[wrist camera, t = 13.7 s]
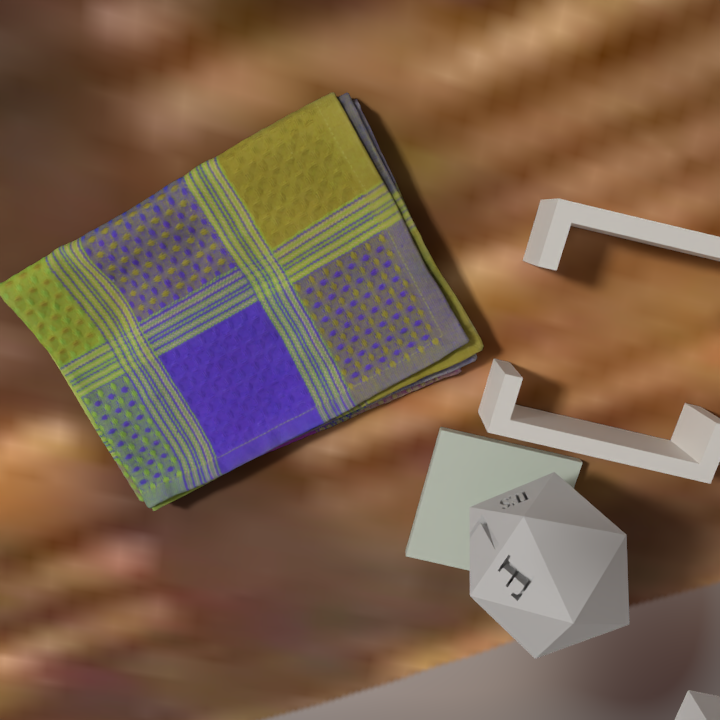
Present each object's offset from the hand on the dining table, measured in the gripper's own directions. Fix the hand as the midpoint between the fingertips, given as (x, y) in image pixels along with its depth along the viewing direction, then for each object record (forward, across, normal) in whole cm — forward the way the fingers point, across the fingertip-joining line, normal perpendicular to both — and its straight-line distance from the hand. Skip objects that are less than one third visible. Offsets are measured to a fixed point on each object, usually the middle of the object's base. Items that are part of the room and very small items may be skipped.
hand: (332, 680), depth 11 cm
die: (+25, +12, -9) cm, 29 cm away
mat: (+25, +10, -9) cm, 29 cm away
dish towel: (+27, -7, 0) cm, 28 cm away
